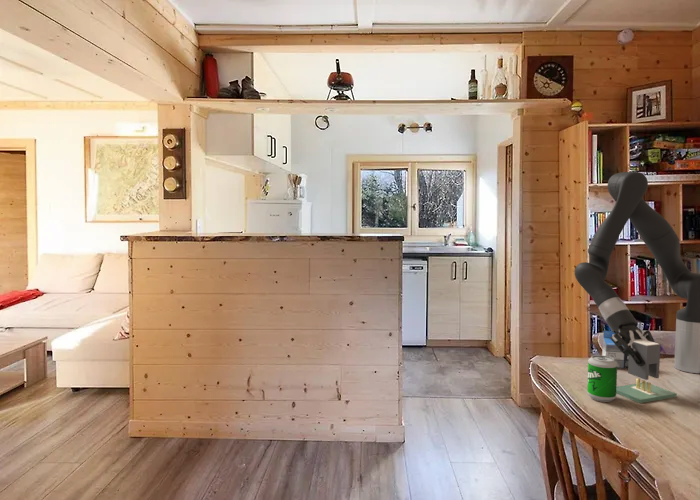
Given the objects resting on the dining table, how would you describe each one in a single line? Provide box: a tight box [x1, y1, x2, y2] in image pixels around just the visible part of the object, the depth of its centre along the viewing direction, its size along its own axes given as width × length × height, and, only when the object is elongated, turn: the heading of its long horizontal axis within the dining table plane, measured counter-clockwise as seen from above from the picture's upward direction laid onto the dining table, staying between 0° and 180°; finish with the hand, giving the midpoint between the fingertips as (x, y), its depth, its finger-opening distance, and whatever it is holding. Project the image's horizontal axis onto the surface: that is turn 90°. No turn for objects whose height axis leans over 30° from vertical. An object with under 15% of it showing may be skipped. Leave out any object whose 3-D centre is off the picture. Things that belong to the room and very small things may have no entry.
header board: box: [616, 377, 678, 404], centre depth 141 cm, size 14×10×4 cm
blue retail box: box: [601, 330, 629, 370], centre depth 166 cm, size 9×4×12 cm, turn 77°
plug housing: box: [627, 339, 661, 381], centre depth 141 cm, size 5×6×10 cm
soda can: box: [586, 354, 618, 403], centre depth 138 cm, size 8×8×12 cm
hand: (649, 363), depth 139 cm, fingers closed on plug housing, 5 cm apart
